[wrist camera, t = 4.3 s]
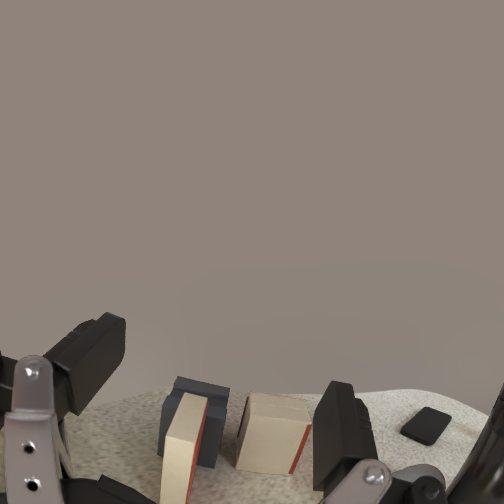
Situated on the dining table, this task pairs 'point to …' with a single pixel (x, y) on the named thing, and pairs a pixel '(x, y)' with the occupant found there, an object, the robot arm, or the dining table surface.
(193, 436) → the thin ivory book
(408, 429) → the phone
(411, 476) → the ceramic mug
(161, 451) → the grey books
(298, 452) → the ivory books
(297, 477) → the dining table surface
